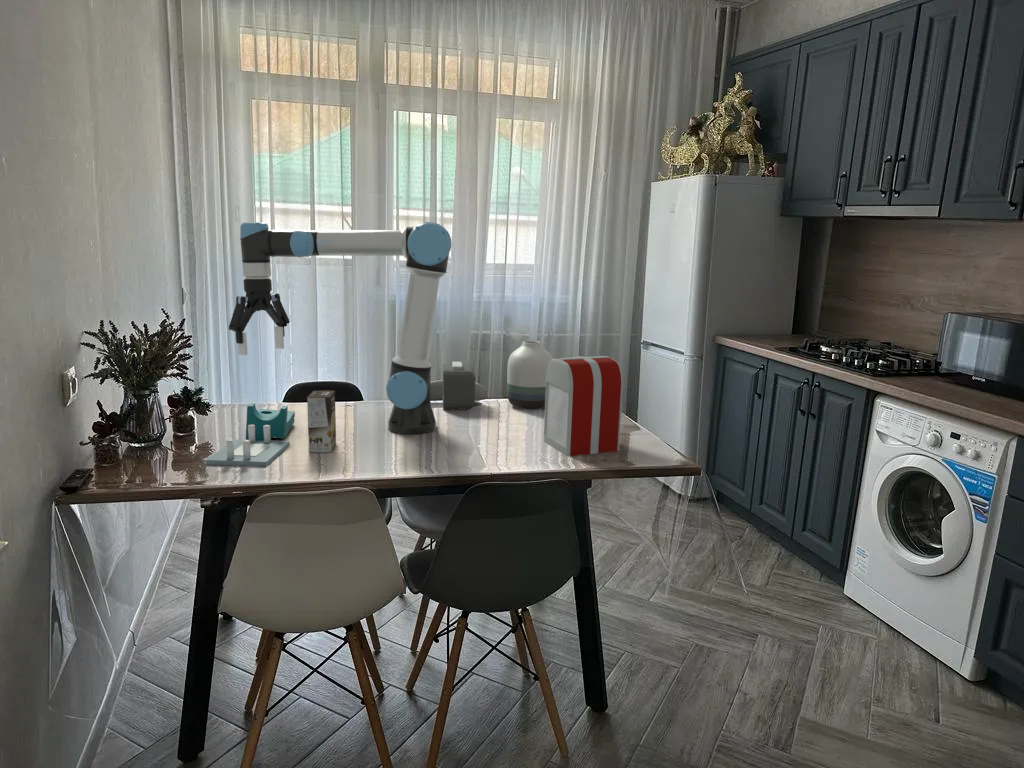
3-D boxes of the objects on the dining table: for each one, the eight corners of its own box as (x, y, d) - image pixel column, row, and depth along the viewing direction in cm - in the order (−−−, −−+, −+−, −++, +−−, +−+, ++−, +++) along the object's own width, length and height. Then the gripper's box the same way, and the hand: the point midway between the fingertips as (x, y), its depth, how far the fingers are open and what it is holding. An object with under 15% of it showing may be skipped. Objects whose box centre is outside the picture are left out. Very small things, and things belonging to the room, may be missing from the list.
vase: (553, 412, 249) (556, 346, 244) (505, 411, 249) (507, 344, 244) (551, 401, 266) (553, 339, 261) (507, 400, 266) (508, 338, 261)
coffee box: (331, 452, 197) (330, 397, 194) (308, 452, 196) (306, 397, 193) (336, 443, 206) (335, 390, 203) (314, 443, 205) (312, 390, 202)
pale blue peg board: (290, 445, 203) (289, 424, 201) (266, 466, 184) (265, 443, 183) (235, 443, 203) (233, 422, 202) (206, 464, 184) (204, 441, 183)
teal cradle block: (283, 442, 207) (285, 408, 205) (245, 440, 206) (247, 405, 203) (294, 426, 225) (295, 395, 223) (259, 424, 223) (260, 392, 221)
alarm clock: (442, 400, 263) (442, 359, 260) (472, 400, 264) (473, 360, 261) (443, 411, 247) (443, 368, 244) (475, 411, 248) (475, 368, 245)
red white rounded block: (542, 440, 214) (545, 354, 209) (592, 436, 221) (597, 351, 215) (567, 456, 199) (571, 363, 194) (620, 450, 206) (626, 360, 201)
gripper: (280, 275, 212) (285, 344, 216) (211, 279, 190) (217, 356, 194) (299, 276, 208) (303, 346, 213) (230, 280, 187) (236, 358, 191)
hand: (262, 351), depth 204 cm, fingers open, 13 cm apart
